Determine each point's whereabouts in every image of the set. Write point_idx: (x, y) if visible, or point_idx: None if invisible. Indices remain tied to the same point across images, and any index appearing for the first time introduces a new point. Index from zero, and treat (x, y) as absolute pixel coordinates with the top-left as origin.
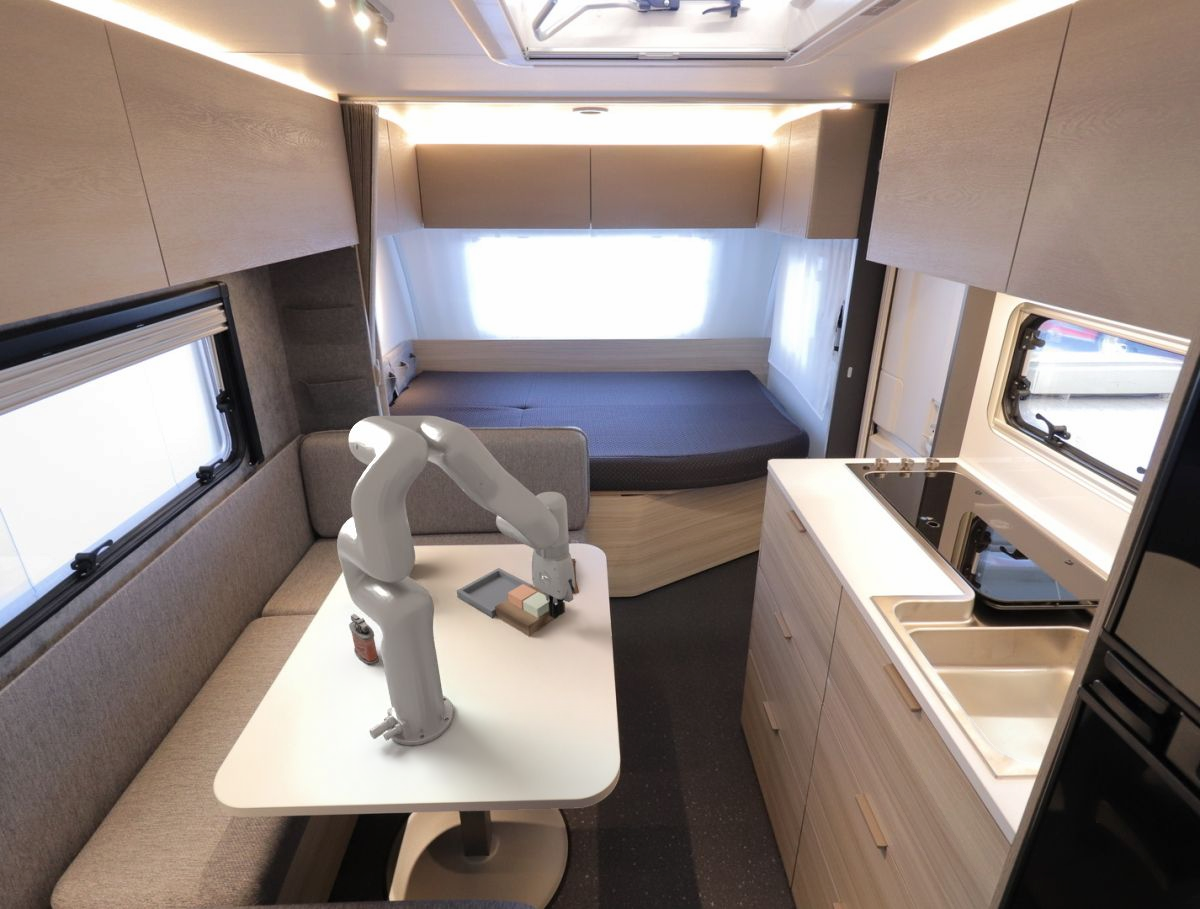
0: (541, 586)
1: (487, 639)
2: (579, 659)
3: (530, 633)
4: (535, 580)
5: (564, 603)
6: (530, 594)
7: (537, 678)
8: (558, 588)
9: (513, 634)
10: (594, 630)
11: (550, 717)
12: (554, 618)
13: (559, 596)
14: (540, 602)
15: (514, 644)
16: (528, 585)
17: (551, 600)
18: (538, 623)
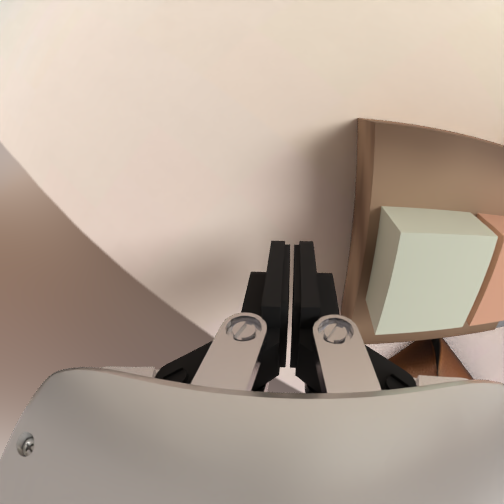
0: (383, 465)
1: (461, 25)
2: (102, 167)
3: (360, 127)
4: (498, 470)
5: None
6: (485, 295)
7: (127, 3)
8: (14, 475)
9: (420, 92)
10: (188, 299)
11: (27, 3)
12: (271, 242)
13: (42, 392)
14: (417, 285)
15: (365, 43)
16: (499, 321)
17: (308, 332)
18: (364, 188)
